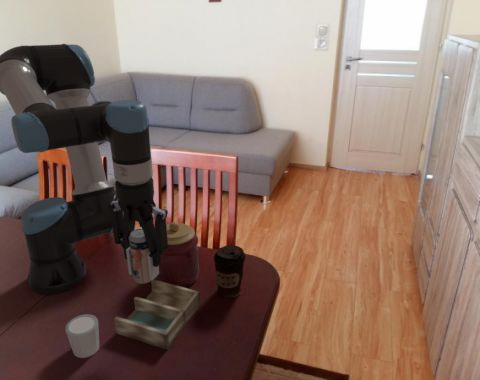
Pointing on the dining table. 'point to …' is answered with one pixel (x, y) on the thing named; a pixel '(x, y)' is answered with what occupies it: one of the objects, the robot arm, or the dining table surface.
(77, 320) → the shot glass
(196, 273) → the canister
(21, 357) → the dining table surface
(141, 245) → the beer can
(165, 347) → the caddy
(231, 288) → the coffee cup
